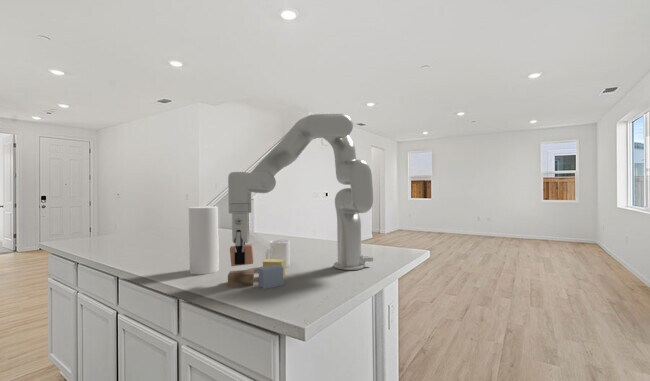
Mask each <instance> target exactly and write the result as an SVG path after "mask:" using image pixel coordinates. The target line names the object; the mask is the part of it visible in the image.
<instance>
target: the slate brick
mask: <svg viewBox="0 0 650 381" xmlns="http://www.w3.org/2000/svg"><path fill="white" fill-rule="evenodd" d="M280 286H284V277H283V267H282V266H279V265H274V266H268V267H263V266H262V267H258V287H260V288H261V289H263V290H265V289H270V288H274V287H280Z"/></svg>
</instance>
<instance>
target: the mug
mask: <svg viewBox="0 0 650 381" xmlns="http://www.w3.org/2000/svg"><path fill="white" fill-rule="evenodd" d="M266 259H279V260H285V269H286V268H289V267H290V266H291V240H289V239H273V240H270V241H269V247H268V248H267V249H266V252H265V260H266Z"/></svg>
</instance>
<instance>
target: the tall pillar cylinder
mask: <svg viewBox="0 0 650 381" xmlns="http://www.w3.org/2000/svg"><path fill="white" fill-rule="evenodd" d="M188 240H189V241H188V246H189V248H188V249H189V273H190V274H191V275H209V274H213V273H216V272H218V271H220V261H219V260H220V257H219V256H220V255H219V254H220V253H219V252H220V251H219V250H220V249H219V247H220V246H219V206H217V205H216V206H215V205H213V206H212V205H211V206H189V207H188Z"/></svg>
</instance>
